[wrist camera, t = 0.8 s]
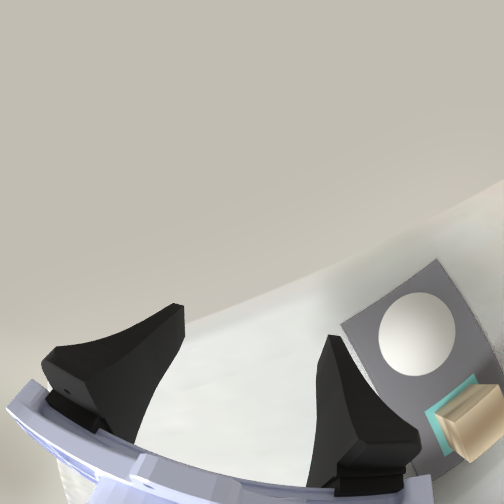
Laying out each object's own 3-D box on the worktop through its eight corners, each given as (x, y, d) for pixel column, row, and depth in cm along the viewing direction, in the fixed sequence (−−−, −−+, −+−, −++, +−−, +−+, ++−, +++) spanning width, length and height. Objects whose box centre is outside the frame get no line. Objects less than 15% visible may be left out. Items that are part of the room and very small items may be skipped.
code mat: (516, 411, 13) (518, 412, 12) (422, 485, 14) (423, 487, 14) (435, 260, 23) (436, 258, 23) (340, 325, 25) (340, 324, 24)
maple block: (485, 418, 14) (513, 425, 9) (449, 447, 15) (470, 463, 10) (470, 384, 17) (498, 384, 12) (434, 412, 17) (454, 422, 12)
